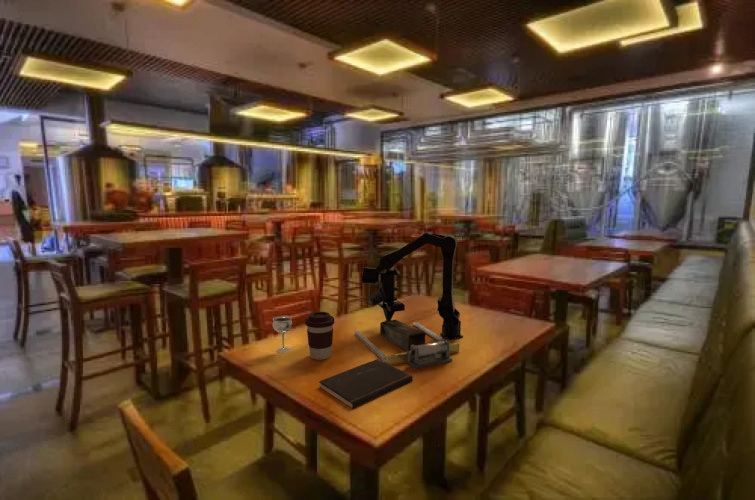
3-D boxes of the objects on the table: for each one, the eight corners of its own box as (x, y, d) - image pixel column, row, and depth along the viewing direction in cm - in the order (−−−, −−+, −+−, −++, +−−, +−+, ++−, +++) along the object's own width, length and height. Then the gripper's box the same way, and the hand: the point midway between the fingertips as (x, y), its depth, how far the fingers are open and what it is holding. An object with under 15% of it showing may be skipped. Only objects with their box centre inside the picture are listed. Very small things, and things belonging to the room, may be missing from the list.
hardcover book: (319, 388, 116) (318, 381, 116) (377, 365, 131) (377, 358, 131) (352, 411, 104) (352, 403, 104) (412, 382, 119) (412, 375, 119)
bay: (416, 324, 169) (416, 317, 168) (459, 351, 140) (459, 343, 140) (354, 334, 158) (354, 327, 157) (387, 365, 129) (387, 357, 129)
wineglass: (269, 352, 140) (268, 320, 138) (280, 345, 146) (279, 314, 144) (286, 355, 138) (285, 322, 136) (296, 348, 144) (295, 316, 142)
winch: (443, 355, 137) (443, 337, 136) (451, 361, 133) (452, 342, 132) (403, 363, 131) (403, 345, 130) (410, 369, 126) (411, 350, 125)
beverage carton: (395, 332, 160) (395, 316, 159) (426, 348, 144) (426, 331, 143) (379, 336, 156) (379, 320, 155) (409, 353, 140) (409, 335, 139)
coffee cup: (339, 352, 140) (339, 311, 138) (327, 363, 131) (326, 320, 129) (314, 348, 143) (313, 308, 141) (301, 359, 134) (299, 317, 132)
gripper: (361, 282, 164) (361, 318, 167) (379, 292, 147) (379, 332, 150) (385, 279, 169) (385, 314, 171) (405, 289, 152) (405, 328, 154)
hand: (388, 322), depth 161 cm, fingers closed
